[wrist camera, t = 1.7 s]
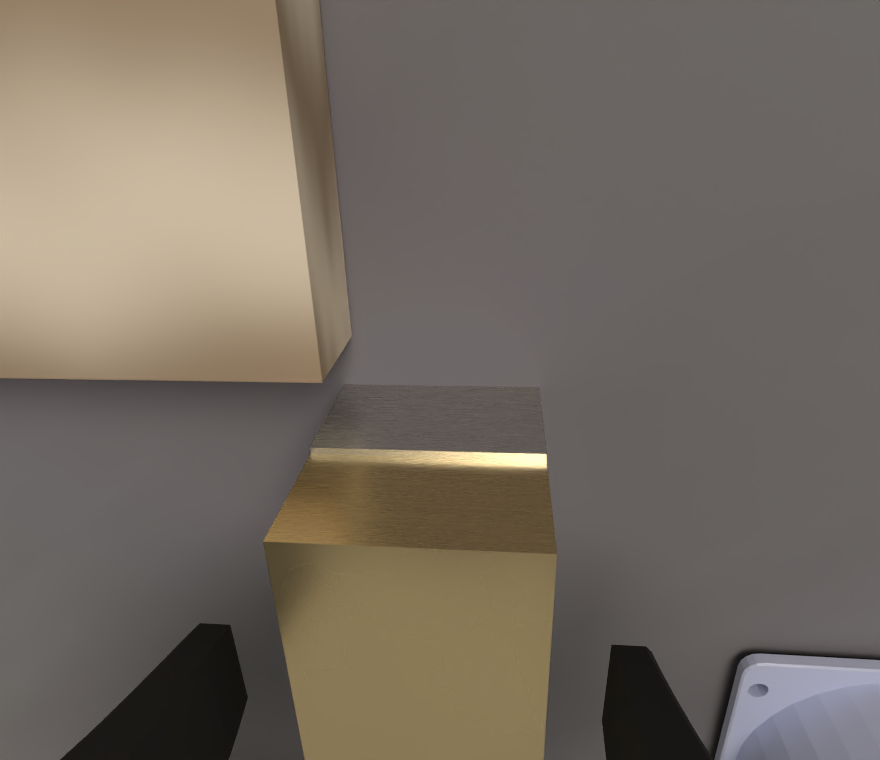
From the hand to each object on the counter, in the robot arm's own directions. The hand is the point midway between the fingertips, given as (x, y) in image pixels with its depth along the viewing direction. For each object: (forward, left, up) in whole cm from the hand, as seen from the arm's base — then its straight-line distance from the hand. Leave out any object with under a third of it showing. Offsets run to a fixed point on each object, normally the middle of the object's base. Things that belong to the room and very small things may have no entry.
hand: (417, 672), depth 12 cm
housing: (0, 0, -5) cm, 5 cm away
